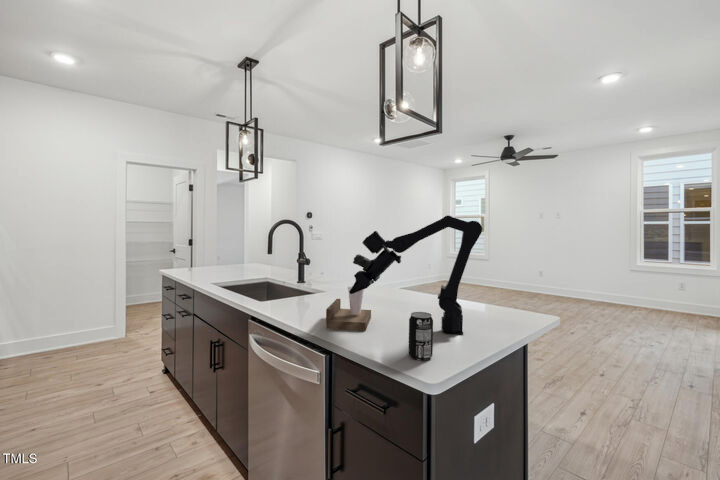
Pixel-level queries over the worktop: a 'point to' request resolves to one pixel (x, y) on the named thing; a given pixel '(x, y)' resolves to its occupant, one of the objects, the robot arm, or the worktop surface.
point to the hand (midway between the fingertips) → (352, 291)
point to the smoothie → (355, 301)
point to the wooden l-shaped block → (346, 318)
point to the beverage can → (420, 336)
